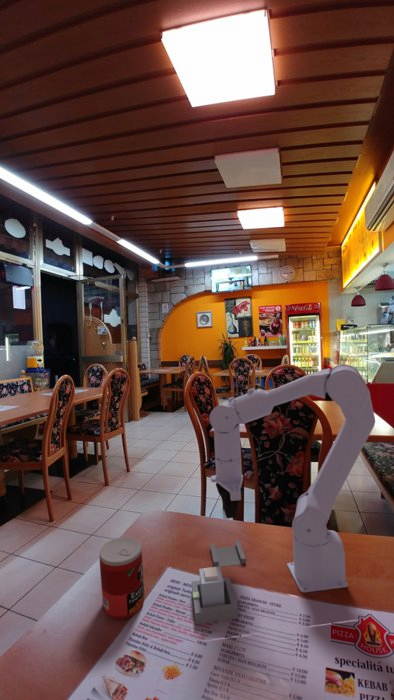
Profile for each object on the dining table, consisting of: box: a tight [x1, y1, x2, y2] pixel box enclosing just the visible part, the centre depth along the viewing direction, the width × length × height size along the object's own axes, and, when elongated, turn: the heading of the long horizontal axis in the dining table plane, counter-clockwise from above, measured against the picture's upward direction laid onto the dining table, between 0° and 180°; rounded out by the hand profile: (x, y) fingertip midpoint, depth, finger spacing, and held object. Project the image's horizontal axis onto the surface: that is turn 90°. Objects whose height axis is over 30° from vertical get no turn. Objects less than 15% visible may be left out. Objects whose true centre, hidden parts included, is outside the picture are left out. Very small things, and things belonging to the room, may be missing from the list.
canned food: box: [99, 536, 145, 620], centre depth 65 cm, size 8×8×11 cm
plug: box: [198, 566, 226, 608], centre depth 63 cm, size 4×4×7 cm
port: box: [191, 576, 239, 625], centre depth 64 cm, size 8×8×2 cm
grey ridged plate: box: [209, 540, 247, 568], centre depth 77 cm, size 7×6×1 cm
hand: (230, 516), depth 76 cm, fingers closed
